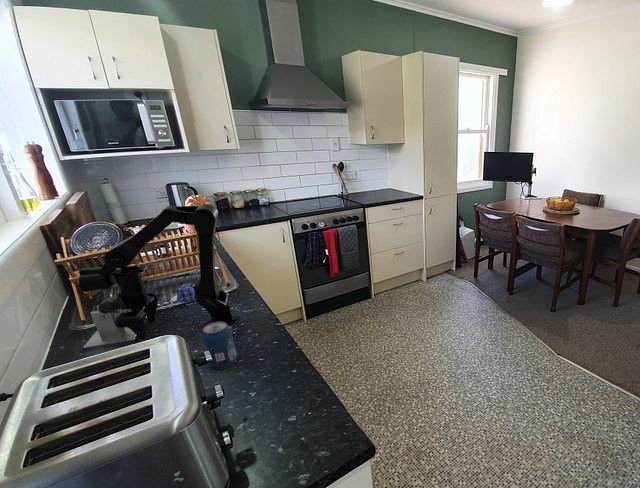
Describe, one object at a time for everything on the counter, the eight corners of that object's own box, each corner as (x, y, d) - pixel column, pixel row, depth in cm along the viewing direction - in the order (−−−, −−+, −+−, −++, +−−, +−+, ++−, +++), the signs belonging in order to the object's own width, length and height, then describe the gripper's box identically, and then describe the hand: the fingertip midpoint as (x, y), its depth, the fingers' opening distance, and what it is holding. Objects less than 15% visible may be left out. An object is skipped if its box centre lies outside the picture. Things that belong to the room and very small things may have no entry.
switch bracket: (144, 327, 112) (133, 297, 108) (134, 342, 105) (122, 312, 100) (97, 333, 108) (84, 303, 104) (84, 350, 101) (69, 319, 96)
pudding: (204, 288, 137) (201, 276, 135) (212, 300, 129) (209, 287, 127) (168, 297, 130) (164, 285, 128) (174, 310, 122) (170, 297, 120)
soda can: (211, 357, 100) (201, 322, 95) (238, 352, 102) (230, 318, 97) (208, 373, 94) (198, 336, 89) (237, 367, 97) (228, 331, 92)
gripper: (110, 276, 107) (126, 319, 114) (82, 305, 92) (102, 353, 98) (153, 272, 111) (166, 313, 118) (133, 299, 96) (150, 345, 102)
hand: (147, 330), depth 109 cm, fingers open, 9 cm apart
